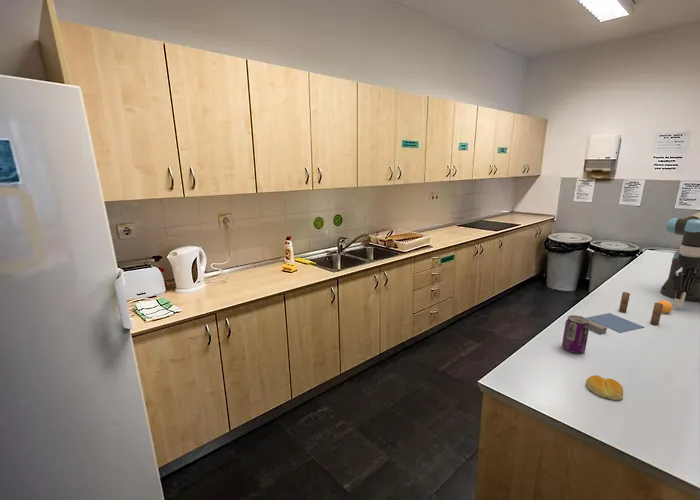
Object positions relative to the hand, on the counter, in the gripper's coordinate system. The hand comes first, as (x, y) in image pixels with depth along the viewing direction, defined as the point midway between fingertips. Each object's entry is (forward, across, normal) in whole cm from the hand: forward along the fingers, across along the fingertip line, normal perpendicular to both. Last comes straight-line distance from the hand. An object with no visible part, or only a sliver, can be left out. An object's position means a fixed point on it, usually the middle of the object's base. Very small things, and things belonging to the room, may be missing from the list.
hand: (677, 305), depth 152 cm
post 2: (+2, +25, +6) cm, 26 cm away
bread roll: (+3, +86, +30) cm, 91 cm away
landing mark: (+2, +39, 0) cm, 39 cm away
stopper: (+2, +53, 0) cm, 53 cm away
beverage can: (+3, +74, +10) cm, 75 cm away
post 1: (+2, +25, -6) cm, 26 cm away
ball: (-1, +9, 0) cm, 9 cm away
